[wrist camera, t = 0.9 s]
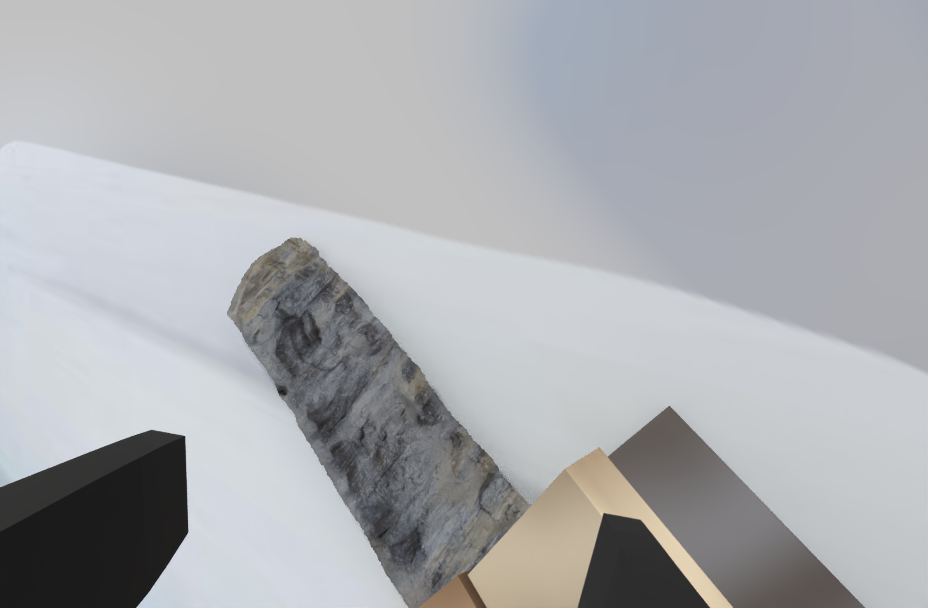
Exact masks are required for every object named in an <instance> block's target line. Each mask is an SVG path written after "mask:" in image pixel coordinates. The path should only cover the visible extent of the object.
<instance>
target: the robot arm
mask: <svg viewBox="0 0 928 608" xmlns="http://www.w3.org/2000/svg"><path fill="white" fill-rule="evenodd" d="M187 534H188V508H187V478H186V447H185V436H182V435H176V434H171V433H166V432H160V431H155V430H150V431H147V432H144V433H140V434H137V435H134V436H131V437H129V438H126V439H123V440H120V441H118V442H115V443H112V444H110V445H107V446H104V447H102V448H99V449H97V450H94V451H92V452H89V453H86V454H84V455H81V456H79V457H76V458H74V459H71V460H69V461H66V462H64V463H61V464H59V465H56V466H54V467H51V468H48V469H46V470H43V471H41V472H38V473H36V474H33V475H31V476H28V477H26V478H23V479H21V480H18V481H15V482H13V483H10V484H8V485H5V486H3V487H0V608H136V607H137V606H138V605H139V604H140V602H141V601H142V600H143V599H144V597H145V596H146V595H147V594H148V593H149V591H150V590H151V588H152V587H153V585H154V584H155V582H156V581H157V580H158V578H159V577H160V575H161V574H162V572H163V571H164V569H165V568H166V566H167V565H168V563H169V562H170V560H171V559H172V557H173V556H174V554H175V553H176V551H177V549H178V548H179V546H180V545H181V543H182V542H183V540H184V538H185V537H186V535H187ZM578 608H710V607H709V606H708V604H707V603H706V602H705V601H704V599H703V598H702V597H701V596H700V594H699V593H698V592H697V591H696V589H695V588H694V587H693V585H692V584H691V583H690V582H689V580H688V579H687V578H686V577H685V575H684V574H683V573H682V571H681V570H680V569H679V568H678V566H677V565H676V564H675V562H674V561H673V560H672V559H671V557H670V556H669V555H668V553H667V552H666V551H665V549H664V548H663V547H662V546H661V544H660V543H659V542H658V540H657V539H656V538H655V537H654V535H653V534H652V533H651V532H650V530H649V529H648V528H647V527H646V525H645V524H644V523H643V522H642V520H640V519H634V518H629V517H623V516H618V515H613V514H607V513H603V517H602V521H601V524H600V528H599V531H598V535H597V539H596V542H595V546H594V550H593V553H592V557H591V560H590V564H589V568H588V571H587V575H586V579H585V582H584V586H583V590H582V593H581V597H580V600H579V604H578Z"/></svg>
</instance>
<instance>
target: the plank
mask: <svg viewBox="0 0 928 608" xmlns="http://www.w3.org/2000/svg"><path fill="white" fill-rule="evenodd" d="M603 513H607V514H613V515H618V516H623V517H629V518H634V519H640V520H642V522H643V523H644V524H645V525H646V527H647V528H648V529H649V530H650V532H651V533H652V534H653V535H654V537H655V538H656V539H657V540H658V542H659V543H660V544H661V546H662V547H663V548H664V549H665V551H666V552H667V553H668V555H669V556H670V557H671V559H672V560H673V561H674V562H675V564H676V565H677V566H678V568H679V569H680V570H681V571H682V573H683V574H684V575H685V577H686V578H687V579H688V580H689V582H690V583H691V584H692V585H693V587H694V588H695V589H696V591H697V592H698V593H699V594H700V596H701V597H702V598H703V599H704V601H705V602H706V603H707V604H708V606H709V607H710V608H733V607H732V606H731V604H730V603H729V602H728V601H727V600H726V598H725V597H724V596H723V595H722V594H721V592H720V591H719V590H718V589H717V588H716V586H715V585H714V584H713V583H712V582H711V580H710V579H709V578H708V577H707V576H706V574H705V573H704V572H703V571H702V570H701V568H700V567H699V566H698V565H697V564H696V562H695V561H694V560H693V559H692V558H691V556H690V555H689V554H688V553H687V552H686V550H685V549H684V548H683V547H682V546H681V544H680V543H679V542H678V541H677V540H676V538H675V537H674V536H673V535H672V534H671V532H670V531H669V530H668V529H667V528H666V527H665V525H664V524H663V523H662V522H661V521H660V519H659V518H658V517H657V516H656V515H655V513H654V512H653V511H652V510H651V509H650V507H649V506H648V505H647V504H646V503H645V501H644V500H643V499H642V498H641V497H640V495H639V494H638V493H637V492H636V491H635V489H634V488H633V487H632V486H631V485H630V483H629V482H628V481H627V480H626V479H625V477H624V476H623V475H622V474H621V473H620V471H619V470H618V469H617V468H616V467H615V465H614V464H613V463H612V462H611V461H610V459H609V458H608V457H607V456H606V455H605V453H604V452H603V451H602V450H601V449H600V447H599V448H598V449H596V450H595V451H593V452H591V453H590V454H588V455H587V456H585V457H583V458H582V459H580V460H579V461H577V462H575V463H574V464H572V465H570V466H569V467H567V468H566V469H565V470H564V471H563V472H562V473H561V474H560V475H559V476H558V477H557V478H556V479H555V480H554V481H553V483H552V484H551V485H550V486H549V487H548V488H547V489H546V490H545V491H544V492H543V493H542V495H541V496H540V497H539V498H538V499H537V500H536V501H535V502H534V503H533V504H532V505H531V507H530V508H529V509H528V510H527V511H526V512H525V513H524V514H523V515H522V516H521V517H520V518H519V520H518V521H517V522H516V523H515V524H514V525H513V526H512V527H511V528H510V529H509V530H508V532H507V533H506V534H505V535H504V536H503V537H502V538H501V539H500V540H499V541H498V542H497V544H496V545H495V546H494V547H493V548H492V549H491V550H490V551H489V552H488V553H487V554H486V555H485V557H484V558H483V559H482V560H481V561H480V562H479V563H478V564H477V565H476V566H475V567H474V569H473V570H472V571H471V572H470V573H469V574H468V576H469V578H470V580H471V582H472V583H473V585H474V587H475V588H476V590H477V592H478V593H479V595H480V597H481V599H482V600H483V602H484V604H485V605H486V607H487V608H578V604H579V600H580V597H581V593H582V590H583V586H584V582H585V579H586V575H587V571H588V568H589V564H590V560H591V557H592V553H593V550H594V546H595V542H596V539H597V535H598V531H599V528H600V524H601V521H602V517H603Z"/></svg>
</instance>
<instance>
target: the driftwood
mask: <svg viewBox="0 0 928 608" xmlns="http://www.w3.org/2000/svg"><path fill="white" fill-rule="evenodd" d="M241 280H242V281H241V283H240V284H239V285H238V287H237V290H236V293H235V294H234V297H233V299H232V301H231V306H230V308H229V310H228V312H227V315H228V316H229V317H230V318H231V320H233V321H234V324H235V325H236V326H237V327H238V329H239V330H240V332H242V335H243V337H244V339H245V342H246V343H247V344H248V346H249V347H250V348H251V350H252V352H254V354H255V355H256V356H257V359H258V360H259V361H260V362H261V363H262V365H263V366H264V367H265V368H266V369H267V371H268V372H269V374H270V376H271V378H273V380H274V381H275V385H276V387H277V391H278V393H279V396H281V398H282V399H283V400H284V401H286V403H287V405H288V407H289V408H290V409H291V410H292V411H293V412H294V414H295V416H296V419H297V423H298V426H299V428H300V429H301V430H302V432H303V433H304V435H305V437H306V440H307V441H308V442H309V443H310V445H311V448H313V450H314V452H315V454H317V457H318V458H319V461H320V463H321V465H324V467H325V469H326V471H327V475H328V476H329V477H330V478H331V480H332V481H333V484H334V485H335V488H336V489H337V491H338V493H339V495H340V496H341V497H342V499H343V501H344V503H345V505H347V507H348V508H349V509H350V512H351V513H352V514H353V515H354V517H355V519H356V520H357V521H358V522H359V523H360V524H361V527H362V529H363V530H364V533H365V535H366V536H367V537H368V540H369V541H370V544H371V547H372V548H373V550H375V553H376V554H377V556H378V560H379V561H380V562H381V565H382V566H383V568H384V571H385V573H386V575H387V576H388V577H389V578H390V579H391V582H392V583H393V584H394V586H395V587H396V589H397V590H398V592H399V593H400V594H401V595H402V596H403V599H404V601H405V603H406V604H407V605H408V607H409V608H418V607H420V606H421V605H422V604H423V603H424V602H426V601H427V600H428V599H429V598H431V597H432V596H433V595H434V594H435V593H437V592H438V591H439V590H440V589H441V588H443V587H444V586H445V585H446V584H447V583H449V582H450V581H451V580H452V579H454V578H455V577H456V576H457V575H459V574H461V573H464V572H466V571H468V570H470V572H471V571H472V570H473V569H474V567H475V566H476V565H477V564H478V563H479V562H480V561H481V560H482V559H483V558H484V557H485V555H486V554H487V553H488V552H489V551H490V550H491V549H492V548H493V547H494V546H495V545H496V544H497V542H498V541H499V540H500V539H501V538H502V537H503V536H504V535H505V534H506V533H507V532H508V530H509V529H510V528H511V527H512V526H513V525H514V524H515V523H516V522H517V521H518V520H519V518H520V517H521V516H522V515H523V514H524V513H525V512H526V511H527V510H528V509H529V508H530V507H531V505H530V504H528V503H527V502H526V501H525V500H524V499H523V497H522V496H521V495H520V494H519V493H518V492H517V491H516V489H515V488H514V487H512V486H511V485H510V483H509V482H508V481H507V480H505V479H503V478H502V477H501V476H502V475H501V474H500V473H499V469H498V466H497V465H496V464H495V463H494V461H493V459H492V458H491V457H490V456H489V455H488V454H487V453H486V452H485V451H484V450H483V449H481V447H480V445H478V444H477V443H476V442H475V441H473V439H472V437H471V435H469V434H468V432H467V430H466V429H465V428H464V427H463V426H462V425H461V424H459V422H458V421H456V420H455V419H454V417H452V416H451V413H450V412H449V411H447V409H446V408H445V406H444V405H443V403H442V402H441V401H440V400H439V398H438V396H437V395H436V394H435V393H434V391H433V389H432V388H431V387H430V386H429V385H428V382H427V381H426V380H425V375H424V374H423V373H422V372H421V369H420V368H419V367H418V365H416V364H415V363H414V362H412V360H411V358H409V357H408V356H407V353H406V352H404V351H403V350H402V349H401V348H400V347H399V346H398V344H397V342H396V341H394V339H393V338H392V334H390V332H389V331H388V330H387V328H386V327H385V326H384V325H383V324H382V323H381V322H380V321H379V320H378V319H377V318H376V317H374V316H373V315H372V313H371V311H369V307H368V305H367V304H365V302H364V301H363V299H362V298H361V297H359V296H358V295H357V293H356V292H355V291H354V290H353V289H352V288H351V287H350V286H349V285H348V283H347V282H344V281H343V280H342V279H341V278H340V276H339V275H338V273H336V272H335V271H334V270H333V269H332V268H331V267H329V266H327V264H325V262H324V261H322V260H321V259H320V258H319V251H318V250H317V249H316V248H315V247H312V246H311V245H310V244H309V243H307V242H306V241H303V240H302V239H301V238H290V239H288V240H287V241H285V242H284V243H282V245H281V246H278V247H277V248H274V249H272V250H271V251H269V252H267V253H265V254H264V255H262V256H261V257H259V258H258V259H257V260H255V262H254V263H252V264H251V266H250V268H249V269H248V270H247V272H246V273H245V274H244V277H243V278H242V279H241Z"/></svg>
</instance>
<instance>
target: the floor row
mask: <svg viewBox="0 0 928 608" xmlns="http://www.w3.org/2000/svg"><path fill="white" fill-rule="evenodd" d="M608 458H609V459H610V461H611V462H612V463H613V464H614V465H615V467H616V468H617V469H618V470H619V471H620V473H621V474H622V475H623V476H624V477H625V479H626V480H627V481H628V482H629V483H630V485H631V486H632V487H633V488H634V489H635V491H636V492H637V493H638V494H639V495H640V497H641V498H642V499H643V500H644V501H645V503H646V504H647V505H648V506H649V507H650V509H651V510H652V511H653V512H654V513H655V515H656V516H657V517H658V518H659V519H660V521H661V522H662V523H663V524H664V525H665V527H666V528H667V529H668V530H669V531H670V532H671V534H672V535H673V536H674V537H675V538H676V540H677V541H678V542H679V543H680V544H681V546H682V547H683V548H684V549H685V550H686V552H687V553H688V554H689V555H690V556H691V558H692V559H693V560H694V561H695V562H696V564H697V565H698V566H699V567H700V568H701V570H702V571H703V572H704V573H705V574H706V576H707V577H708V578H709V579H710V580H711V582H712V583H713V584H714V585H715V586H716V588H717V589H718V590H719V591H720V592H721V594H722V595H723V596H724V597H725V598H726V600H727V601H728V602H729V603H730V604H731V606H732V607H733V608H865V607H864V606H863V605H862V604H861V603H860V602H859V601H858V600H857V599H856V598H855V597H854V596H853V595H852V594H851V593H850V592H849V591H848V590H847V589H846V588H845V587H844V586H843V585H842V584H841V583H840V582H839V580H838V579H837V578H836V577H835V576H834V575H833V574H832V573H831V572H830V571H829V570H828V569H827V568H826V567H825V566H824V565H823V564H822V563H821V562H820V561H819V560H818V559H817V558H816V557H815V556H814V555H813V554H812V553H811V552H810V551H809V549H808V548H807V547H806V546H805V545H804V544H803V543H802V542H801V541H800V540H799V539H798V538H797V537H796V536H795V535H794V534H793V533H792V532H791V531H790V530H789V529H788V528H787V527H786V526H785V525H784V524H783V523H782V522H781V521H780V520H779V518H778V517H777V516H776V515H775V514H774V513H773V512H772V511H771V510H770V509H769V508H768V507H767V506H766V505H765V504H764V503H763V502H762V501H761V500H760V499H759V498H758V497H757V496H756V495H755V494H754V493H753V492H752V491H751V490H750V489H749V487H748V486H747V485H746V484H745V483H744V482H743V481H742V480H741V479H740V478H739V477H738V476H737V475H736V474H735V473H734V472H733V471H732V470H731V469H730V468H729V467H728V466H727V465H726V464H725V463H724V462H723V461H722V460H721V459H720V458H719V456H718V455H717V454H716V453H715V452H714V451H713V450H712V449H711V448H710V447H709V446H708V445H707V444H706V443H705V442H704V441H703V440H702V439H701V438H700V437H699V436H698V435H697V434H696V433H695V432H694V431H693V430H692V429H691V428H690V427H689V425H688V424H687V423H686V422H685V421H684V420H683V419H682V418H681V417H680V416H679V415H678V414H677V413H676V412H675V411H674V410H673V409H672V408H671V407H670V406H669V407H667V408H666V409H665V410H664V411H663V412H661V413H660V414H659V415H658V416H656V417H655V418H654V419H653V420H652V421H650V422H649V423H648V424H647V425H646V426H644V427H643V428H642V429H641V430H640V431H638V432H637V433H636V434H635V435H633V436H632V437H631V438H630V439H629V440H627V441H626V442H625V443H624V444H623V445H621V446H620V447H619V448H618V449H617V450H615V451H614V452H613V453H612V454H610V455H609V456H608ZM469 573H470V570H468V571H466V572H464V573H461V574H459V575H457V576H456V577H455V578H454V579H452V580H451V581H450V582H449V583H447V584H446V585H445V586H444V587H443V588H441V589H440V590H439V591H438V592H437V593H435V594H434V595H433V596H432V597H431V598H429V599H428V600H427V601H426V602H424V603H423V604H422V605H421V606H420V607H418V608H487V607H486V605H485V604H484V602H483V600H482V599H481V597H480V595H479V593H478V592H477V590H476V588H475V587H474V585H473V583H472V582H471V580H470V578H469V576H468V574H469Z"/></svg>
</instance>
